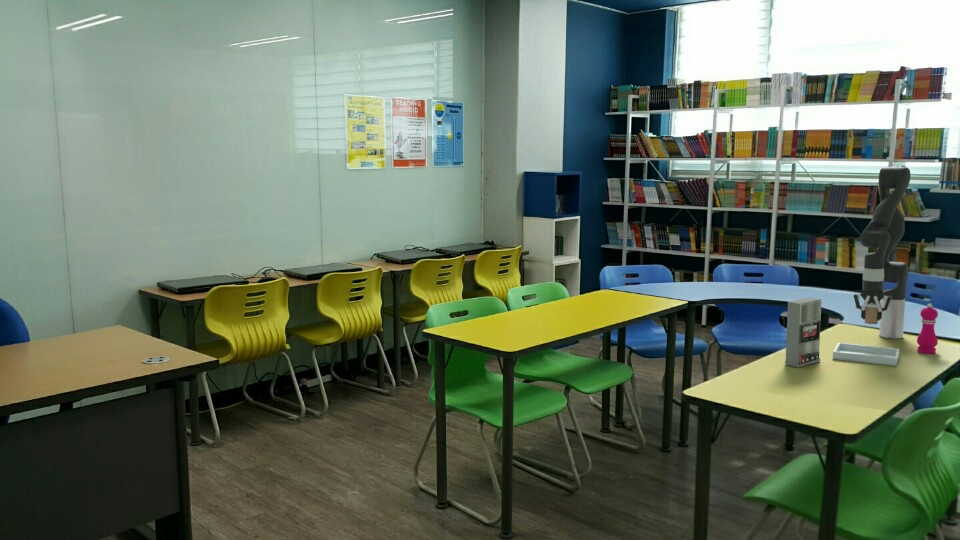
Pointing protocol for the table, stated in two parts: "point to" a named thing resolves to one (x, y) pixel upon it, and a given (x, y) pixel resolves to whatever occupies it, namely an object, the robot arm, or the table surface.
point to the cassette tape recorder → (803, 332)
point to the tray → (866, 354)
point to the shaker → (871, 314)
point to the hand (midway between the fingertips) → (871, 319)
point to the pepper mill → (928, 331)
